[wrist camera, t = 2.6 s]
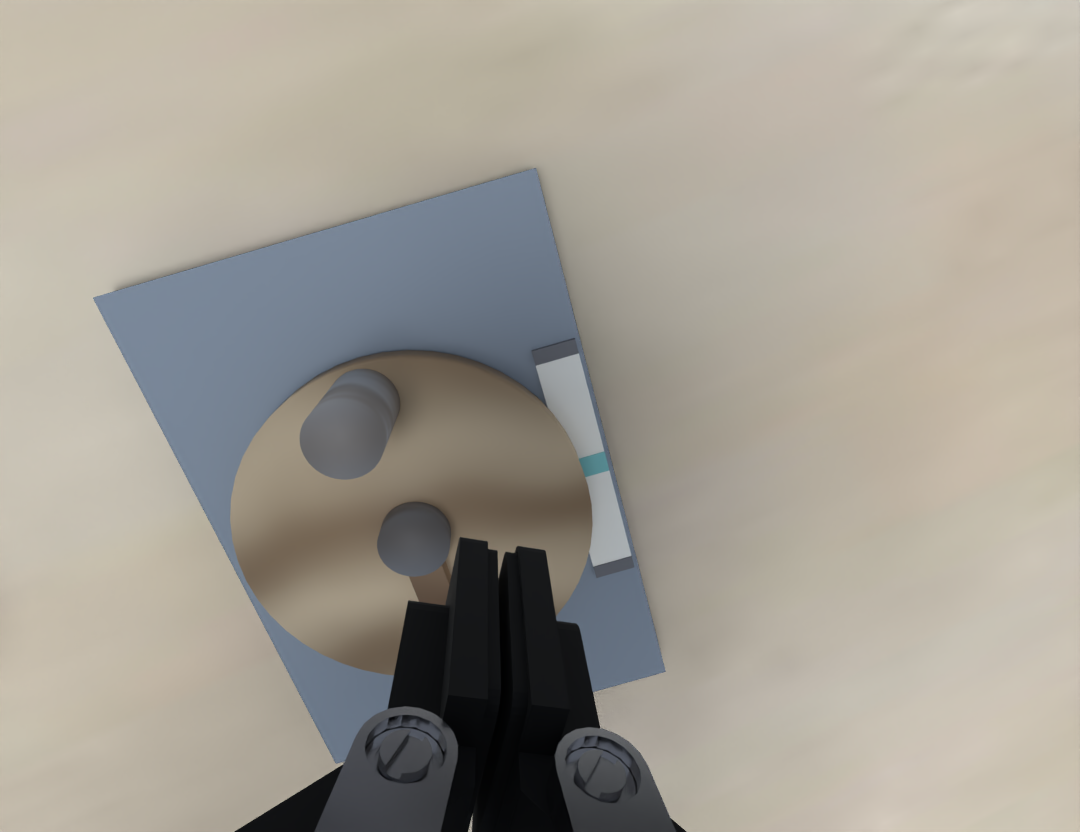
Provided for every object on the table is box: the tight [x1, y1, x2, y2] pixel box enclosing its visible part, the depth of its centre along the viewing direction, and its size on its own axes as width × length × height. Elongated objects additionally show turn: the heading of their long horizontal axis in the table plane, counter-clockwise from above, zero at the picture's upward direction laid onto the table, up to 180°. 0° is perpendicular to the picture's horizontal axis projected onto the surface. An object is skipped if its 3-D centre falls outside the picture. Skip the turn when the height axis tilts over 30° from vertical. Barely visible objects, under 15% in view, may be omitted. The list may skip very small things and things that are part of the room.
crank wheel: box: [230, 350, 593, 675], centre depth 25 cm, size 15×14×6 cm
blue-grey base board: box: [93, 168, 666, 764], centre depth 28 cm, size 24×17×2 cm
